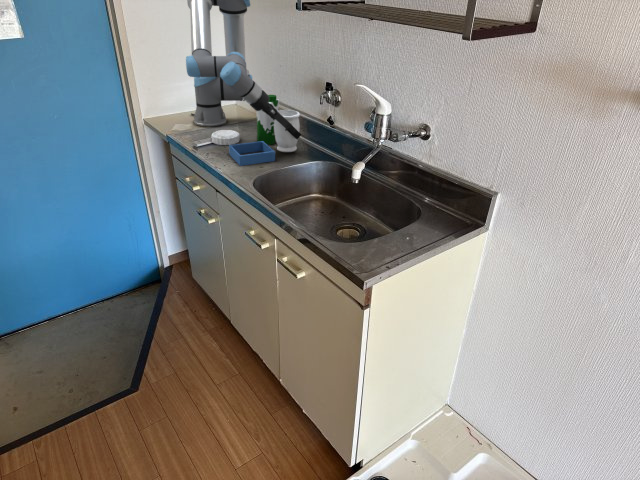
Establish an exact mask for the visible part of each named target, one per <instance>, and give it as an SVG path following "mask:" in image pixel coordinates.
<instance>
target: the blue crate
mask: <svg viewBox="0 0 640 480" xmlns="http://www.w3.org/2000/svg"><path fill="white" fill-rule="evenodd" d="M228 150H229V151H228V154H229V156H230V157H231V158H232V159H233V160H234V161H235V163H237V165H238V166H240V167H242V166H249V165H250V166H251V165H255V164H263V163H271V162H275V161H276V150H274V149H273V148H272V147H271V146H269V144H266V143H265V142H264V141H259V142H257V141H251V142H243V143H242V142H241V143H236V144H232V145H228Z"/></svg>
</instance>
